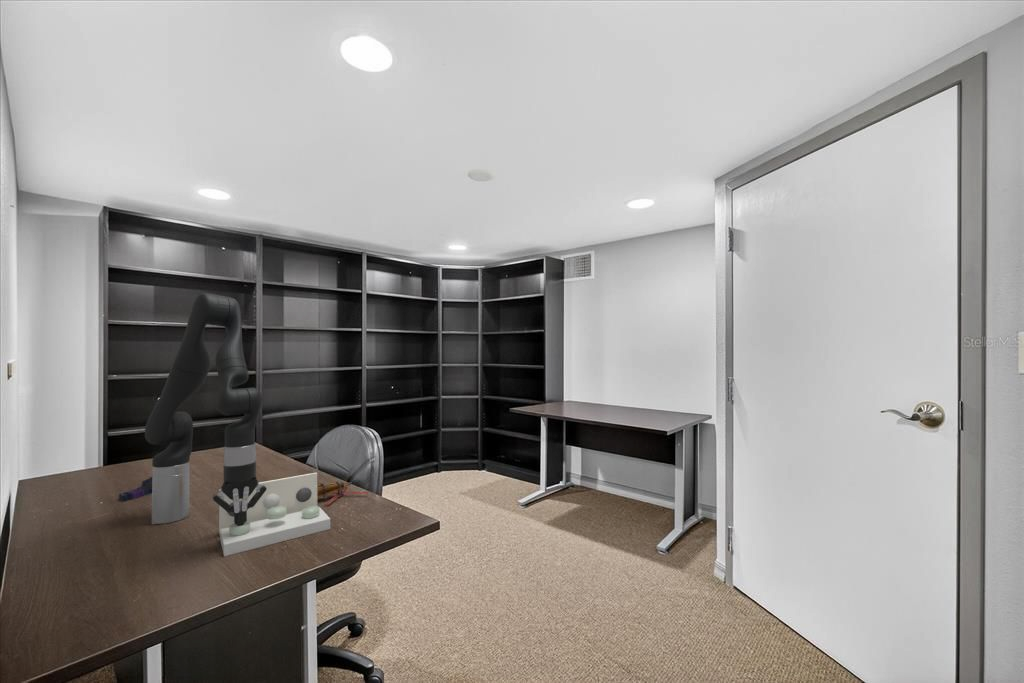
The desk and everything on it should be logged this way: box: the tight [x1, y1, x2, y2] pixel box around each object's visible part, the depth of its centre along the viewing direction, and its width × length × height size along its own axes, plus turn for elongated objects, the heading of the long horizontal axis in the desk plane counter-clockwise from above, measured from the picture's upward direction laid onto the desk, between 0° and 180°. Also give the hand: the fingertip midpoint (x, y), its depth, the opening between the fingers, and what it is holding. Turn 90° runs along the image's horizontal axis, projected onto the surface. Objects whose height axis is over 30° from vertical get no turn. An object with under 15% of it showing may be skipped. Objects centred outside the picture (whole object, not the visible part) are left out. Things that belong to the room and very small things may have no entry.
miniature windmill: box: [317, 480, 369, 506], centre depth 149 cm, size 15×11×30 cm
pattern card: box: [218, 472, 318, 537], centre depth 130 cm, size 26×4×13 cm, turn 128°
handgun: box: [118, 476, 152, 503], centre depth 162 cm, size 3×20×15 cm
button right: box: [302, 505, 320, 519], centre depth 127 cm, size 5×5×2 cm
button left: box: [229, 521, 250, 536], centre depth 116 cm, size 5×5×2 cm
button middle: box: [267, 506, 286, 520], centre depth 122 cm, size 5×5×2 cm
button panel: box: [219, 506, 331, 557], centre depth 122 cm, size 26×12×3 cm, turn 128°
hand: (240, 524), depth 116 cm, fingers closed
